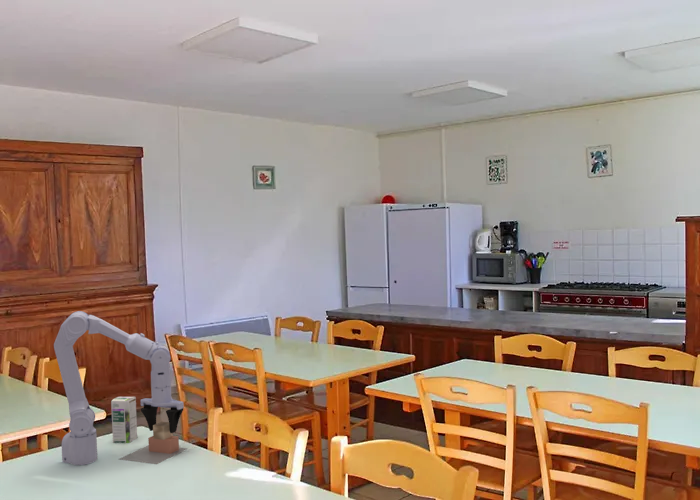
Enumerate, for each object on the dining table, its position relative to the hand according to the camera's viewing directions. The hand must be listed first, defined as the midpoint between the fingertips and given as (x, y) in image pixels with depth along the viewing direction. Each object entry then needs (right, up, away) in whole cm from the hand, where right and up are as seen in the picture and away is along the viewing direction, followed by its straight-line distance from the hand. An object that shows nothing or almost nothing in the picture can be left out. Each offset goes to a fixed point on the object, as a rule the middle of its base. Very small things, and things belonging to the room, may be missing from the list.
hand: (162, 431), depth 198 cm
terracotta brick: (0, -6, 0) cm, 6 cm away
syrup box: (-15, -7, +12) cm, 21 cm away
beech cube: (0, -2, 0) cm, 2 cm away
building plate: (-2, -7, -3) cm, 8 cm away
